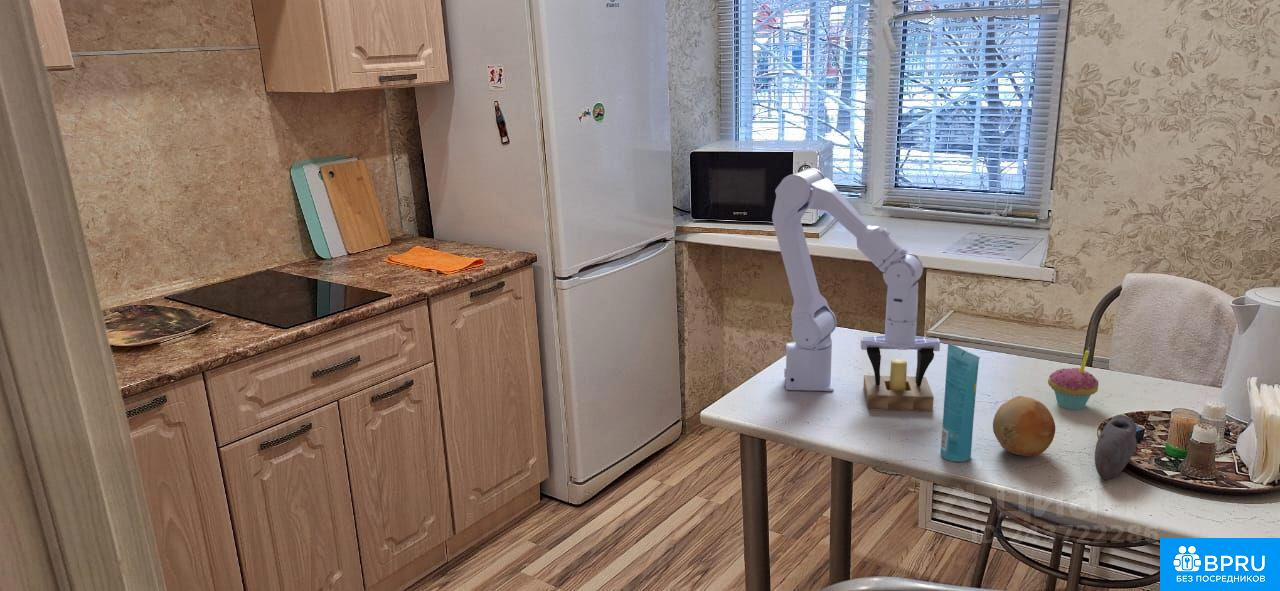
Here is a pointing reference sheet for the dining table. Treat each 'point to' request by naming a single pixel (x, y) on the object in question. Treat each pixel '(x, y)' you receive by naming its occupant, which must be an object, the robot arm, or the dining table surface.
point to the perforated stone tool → (1115, 446)
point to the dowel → (898, 375)
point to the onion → (1024, 426)
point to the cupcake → (1073, 386)
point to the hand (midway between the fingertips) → (897, 383)
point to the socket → (898, 395)
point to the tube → (959, 404)
